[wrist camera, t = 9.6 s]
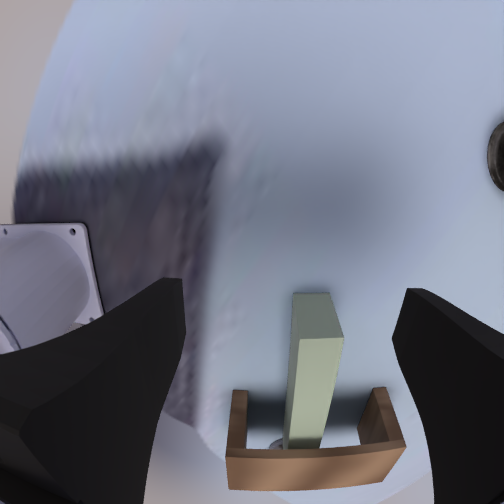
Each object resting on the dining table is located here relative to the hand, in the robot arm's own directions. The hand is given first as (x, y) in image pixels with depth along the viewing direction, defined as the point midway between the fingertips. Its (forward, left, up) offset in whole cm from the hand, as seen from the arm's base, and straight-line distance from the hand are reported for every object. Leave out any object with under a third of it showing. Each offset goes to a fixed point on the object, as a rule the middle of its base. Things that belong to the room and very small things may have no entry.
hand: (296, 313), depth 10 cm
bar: (+3, -13, -10) cm, 17 cm away
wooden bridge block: (+4, -17, -10) cm, 20 cm away
